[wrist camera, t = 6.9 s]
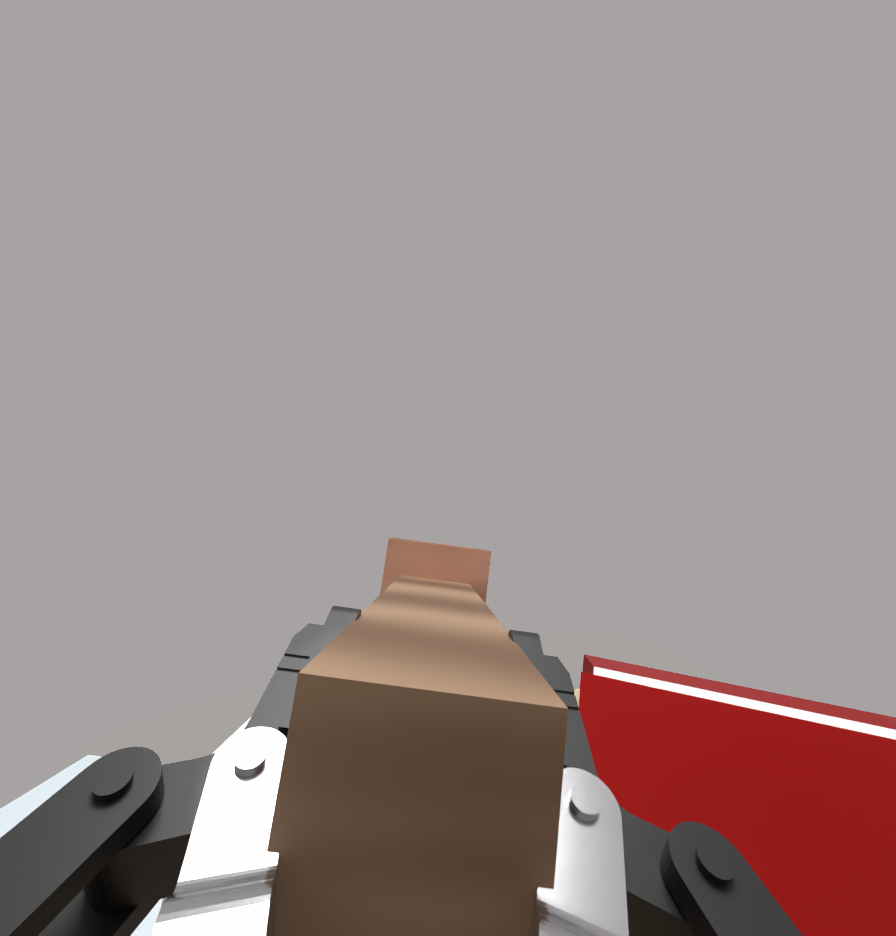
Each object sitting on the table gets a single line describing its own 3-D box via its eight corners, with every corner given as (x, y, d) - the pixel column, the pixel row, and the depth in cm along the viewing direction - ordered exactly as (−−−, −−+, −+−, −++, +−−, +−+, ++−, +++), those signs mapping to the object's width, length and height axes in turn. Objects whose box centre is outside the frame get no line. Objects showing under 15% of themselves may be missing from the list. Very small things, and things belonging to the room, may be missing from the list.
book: (547, 1114, 33) (581, 671, 39) (556, 1014, 41) (583, 654, 46) (1048, 1392, 24) (1001, 762, 30) (943, 1198, 32) (920, 722, 37)
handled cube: (384, 625, 30) (397, 538, 31) (470, 636, 30) (480, 549, 31) (165, 984, 6) (258, 527, 7) (617, 1042, 6) (643, 579, 7)
